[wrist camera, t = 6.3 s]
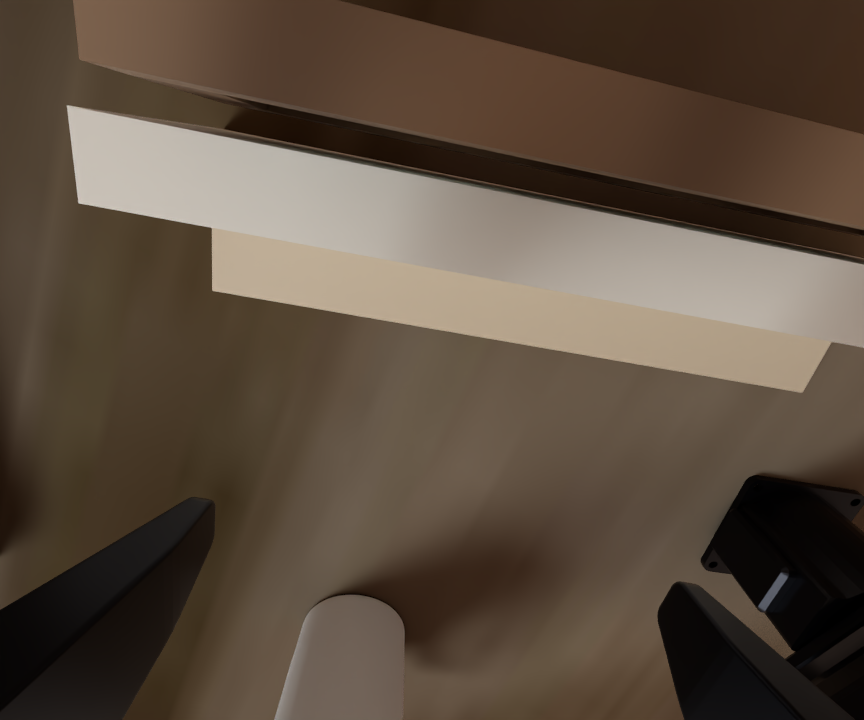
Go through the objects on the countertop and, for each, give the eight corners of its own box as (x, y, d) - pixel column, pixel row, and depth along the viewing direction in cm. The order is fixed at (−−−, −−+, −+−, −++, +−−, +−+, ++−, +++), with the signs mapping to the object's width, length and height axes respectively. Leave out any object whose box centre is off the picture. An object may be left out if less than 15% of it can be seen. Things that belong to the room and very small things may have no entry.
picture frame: (884, 178, 16) (1212, 197, 10) (853, 234, 17) (1140, 285, 10) (225, 22, 12) (61, -113, 6) (224, 103, 13) (80, 60, 7)
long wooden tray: (856, 256, 19) (1123, 316, 12) (786, 382, 21) (972, 498, 14) (222, 128, 17) (67, 105, 10) (222, 284, 19) (97, 360, 12)
